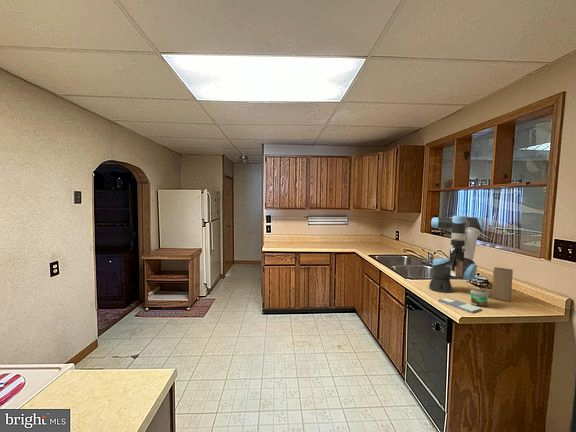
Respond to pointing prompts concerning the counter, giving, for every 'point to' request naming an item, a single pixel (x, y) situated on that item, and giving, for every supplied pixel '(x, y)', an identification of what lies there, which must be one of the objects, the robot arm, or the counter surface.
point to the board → (460, 305)
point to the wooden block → (502, 284)
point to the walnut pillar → (458, 268)
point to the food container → (479, 297)
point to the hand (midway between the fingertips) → (455, 275)
